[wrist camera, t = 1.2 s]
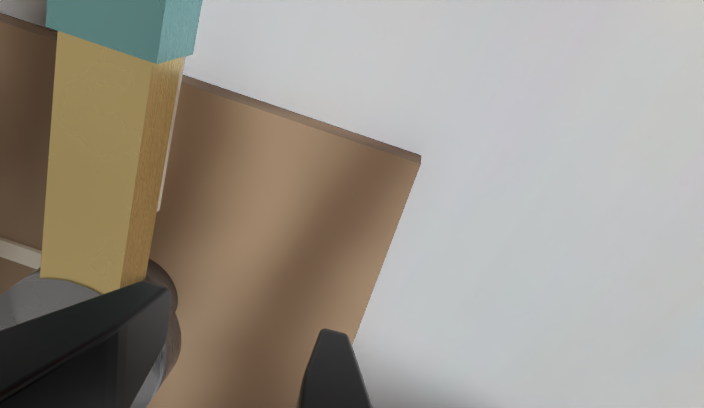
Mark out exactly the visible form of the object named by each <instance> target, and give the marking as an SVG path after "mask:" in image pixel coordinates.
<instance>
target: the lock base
mask: <svg viewBox="0 0 704 408" xmlns="http://www.w3.org/2000/svg"><path fill="white" fill-rule="evenodd" d="M57 33H58V32H55V31H52V30H49V29H46V28H43V27H40V26H37V25H34V24H31V23H28V22H25V21H23V20H20V19H17V18H14V17H11V16H8V15H5V14H2V13H0V295H2V294H3V293H4V292H5V291H6V290H8V289H9V288H11V287H12V286H14V285H15V284H16V283H18V282H19V281H21V280H22V279H23V278H25V277H26V276H28V275H29V274H31V273H32V272H33V271H35V270H36V269H38V268H39V267H41V256H42V242H43V228H44V214H45V200H46V186H47V172H48V158H49V144H50V131H51V117H52V103H53V89H54V75H55V61H56V47H57ZM185 58H186V56H185V57H183V58H182V64H181V70H180V76H179V82H178V88H177V93H176V99H175V105H174V111H173V117H172V123H171V129H170V135H169V141H168V147H167V153H166V159H165V165H164V171H163V177H162V183H161V189H160V195H159V201H158V207H157V213H156V218H155V224H154V230H153V236H152V242H151V248H150V254H149V260H148V266H147V272H146V276H147V277H149V278H150V279H151V280H152V281H153V282H154V283H157V284H160V285H164V286H167V287H168V288H169V289H170V292H171V302H170V303H171V305H172V307H173V309H174V311H175V313H176V315H177V318H178V321H179V324H180V330H181V350H180V354H179V357H178V360H177V362H176V364H175V366H174V368H173V369H172V370H171V372H170V373H169V375H168V376H167V378H166V379H165V381H164V382H163V383H162V385H161V386H160V388H159V389H158V391H157V392H156V394H155V395H154V397H153V398H152V399H151V401H150V402H149V404H148V405H147V406H146V408H296V405H297V400H298V396H299V391H300V387H301V382H302V379H303V375H304V372H305V369H306V367H307V364H308V361H309V359H310V356H311V353H312V350H313V348H314V345H315V342H316V340H317V337H318V334H319V332H320V330H321V329H324V328H326V329H330V330H334V331H338V332H341V333H345V334H347V335H348V337H349V339H350V342H351V345H352V344H353V341H354V339H355V336H356V333H357V331H358V328H359V325H360V323H361V320H362V317H363V315H364V312H365V310H366V307H367V304H368V302H369V299H370V296H371V294H372V291H373V288H374V286H375V283H376V281H377V278H378V275H379V273H380V270H381V267H382V265H383V262H384V259H385V257H386V254H387V251H388V249H389V246H390V244H391V241H392V238H393V236H394V233H395V230H396V228H397V225H398V222H399V220H400V217H401V215H402V212H403V209H404V207H405V204H406V201H407V199H408V196H409V193H410V191H411V188H412V186H413V183H414V180H415V178H416V175H417V172H418V170H419V167H420V164H421V155H418V154H415V153H412V152H409V151H406V150H403V149H400V148H397V147H394V146H391V145H388V144H385V143H382V142H380V141H377V140H374V139H371V138H368V137H365V136H362V135H359V134H356V133H353V132H350V131H347V130H344V129H341V128H338V127H335V126H332V125H329V124H326V123H323V122H321V121H318V120H315V119H312V118H309V117H306V116H303V115H300V114H297V113H294V112H291V111H288V110H285V109H282V108H279V107H276V106H273V105H270V104H267V103H264V102H262V101H259V100H256V99H253V98H250V97H247V96H244V95H241V94H238V93H235V92H232V91H229V90H226V89H223V88H220V87H217V86H214V85H211V84H208V83H205V82H203V81H200V80H197V79H194V78H191V77H188V76H185V75H183V69H184V63H185Z"/></svg>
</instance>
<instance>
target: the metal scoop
mask: <svg viewBox="0 0 704 408" xmlns="http://www.w3.org/2000/svg"><path fill="white" fill-rule="evenodd" d="M201 5H202V0H47V8H46V24H45V26H46V27H49V28H51V29H54V30H57V31H58V33H57V47H56V61H55V75H54V89H53V103H52V117H51V131H50V144H49V158H48V172H47V186H46V200H45V214H44V228H43V242H42V256H41V267H39V268H38V269H36V270H35V271H33V272H32V273H31V274H29V275H28V276H26V277H25V278H23V279H22V280H21V281H19V282H18V283H16V284H15V285H14V286H12V287H11V288H9V289H8V290H6V291H5V292H4V293H3V294H2V295H0V330H3V329H6V328H9V327H11V326H14V325H17V324H20V323H23V322H26V321H29V320H31V319H34V318H37V317H40V316H43V315H46V314H48V313H51V312H54V311H57V310H60V309H63V308H66V307H68V306H71V305H74V304H77V303H80V302H83V301H85V300H88V299H91V298H94V297H97V296H100V295H102V294H105V293H108V292H111V291H114V290H117V289H120V288H122V287H125V286H128V285H131V284H134V283H137V282H140V281H149V282H153V281H152V280H151V279H150V278H149V277H147V276H146V272H147V266H148V260H149V254H150V248H151V242H152V236H153V230H154V224H155V218H156V213H157V207H158V201H159V195H160V189H161V183H162V177H163V171H164V165H165V159H166V153H167V147H168V141H169V135H170V129H171V123H172V117H173V111H174V105H175V99H176V93H177V88H178V82H179V76H180V70H181V64H182V58H183V57H185V56H188V55H192V54H193V50H194V44H195V39H196V33H197V27H198V22H199V16H200V10H201ZM153 283H154V282H153ZM180 350H181V330H180V324H179V321H178V318H177V315H176V313H175V311H174V309H173V307H172V305H171V303H170V314H169V326H168V334H167V338H166V341H165V344H164V346H163V348H162V350H161V352H160V354H159V355H158V357H157V359H156V361H155V363H154V365H153V367H152V368H151V370H150V372H149V374H148V376H147V378H146V379H145V381H144V383H143V385H142V387H141V389H140V390H139V392H138V394H137V396H136V398H135V400H134V401H133V403H132V405H131V407H130V408H146V406H147V405H148V404H149V402H150V401H151V399H152V398H153V397H154V395H155V394H156V392H157V391H158V389H159V388H160V386H161V385H162V383H163V382H164V381H165V379H166V378H167V376H168V375H169V373H170V372H171V370H172V369H173V368H174V366H175V364H176V362H177V360H178V357H179V354H180Z"/></svg>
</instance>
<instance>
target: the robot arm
mask: <svg viewBox="0 0 704 408" xmlns="http://www.w3.org/2000/svg"><path fill="white" fill-rule="evenodd" d="M170 302H171V292H170V289H169V288H168V287H167V286H164V285H160V284H157V283H153V282H149V281H140V282H137V283H134V284H131V285H128V286H125V287H122V288H120V289H117V290H114V291H111V292H108V293H105V294H102V295H100V296H97V297H94V298H91V299H88V300H85V301H83V302H80V303H77V304H74V305H71V306H68V307H66V308H63V309H60V310H57V311H54V312H51V313H48V314H46V315H43V316H40V317H37V318H34V319H31V320H29V321H26V322H23V323H20V324H17V325H14V326H11V327H9V328H6V329H3V330H0V408H130V407H131V405H132V403H133V401H134V400H135V398H136V396H137V394H138V392H139V390H140V389H141V387H142V385H143V383H144V381H145V379H146V378H147V376H148V374H149V372H150V370H151V368H152V367H153V365H154V363H155V361H156V359H157V357H158V355H159V354H160V352H161V350H162V348H163V346H164V344H165V341H166V338H167V334H168V326H169V314H170ZM296 408H372V405H371V402H370V399H369V396H368V393H367V390H366V387H365V384H364V381H363V378H362V375H361V372H360V369H359V366H358V363H357V360H356V357H355V354H354V351H353V348H352V345H351V342H350V339H349V337H348V335H347V334H345V333H341V332H338V331H334V330H330V329H326V328H324V329H321V330H320V332H319V334H318V337H317V340H316V342H315V345H314V348H313V350H312V353H311V356H310V359H309V361H308V364H307V367H306V369H305V372H304V375H303V379H302V382H301V387H300V391H299V396H298V400H297V405H296Z"/></svg>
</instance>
